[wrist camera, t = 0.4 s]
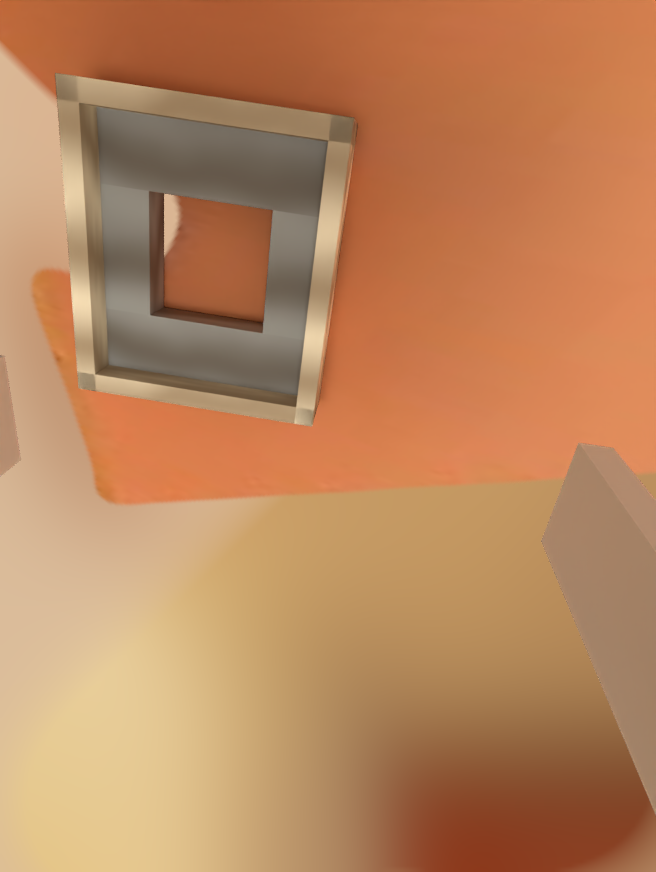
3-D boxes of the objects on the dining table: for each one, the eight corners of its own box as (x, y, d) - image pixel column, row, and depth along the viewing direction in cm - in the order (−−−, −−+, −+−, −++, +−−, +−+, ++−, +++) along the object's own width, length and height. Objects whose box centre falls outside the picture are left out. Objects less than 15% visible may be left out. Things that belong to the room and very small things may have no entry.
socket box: (95, 85, 32) (55, 72, 28) (357, 125, 32) (354, 117, 28) (108, 367, 40) (78, 388, 36) (318, 401, 40) (311, 426, 36)
